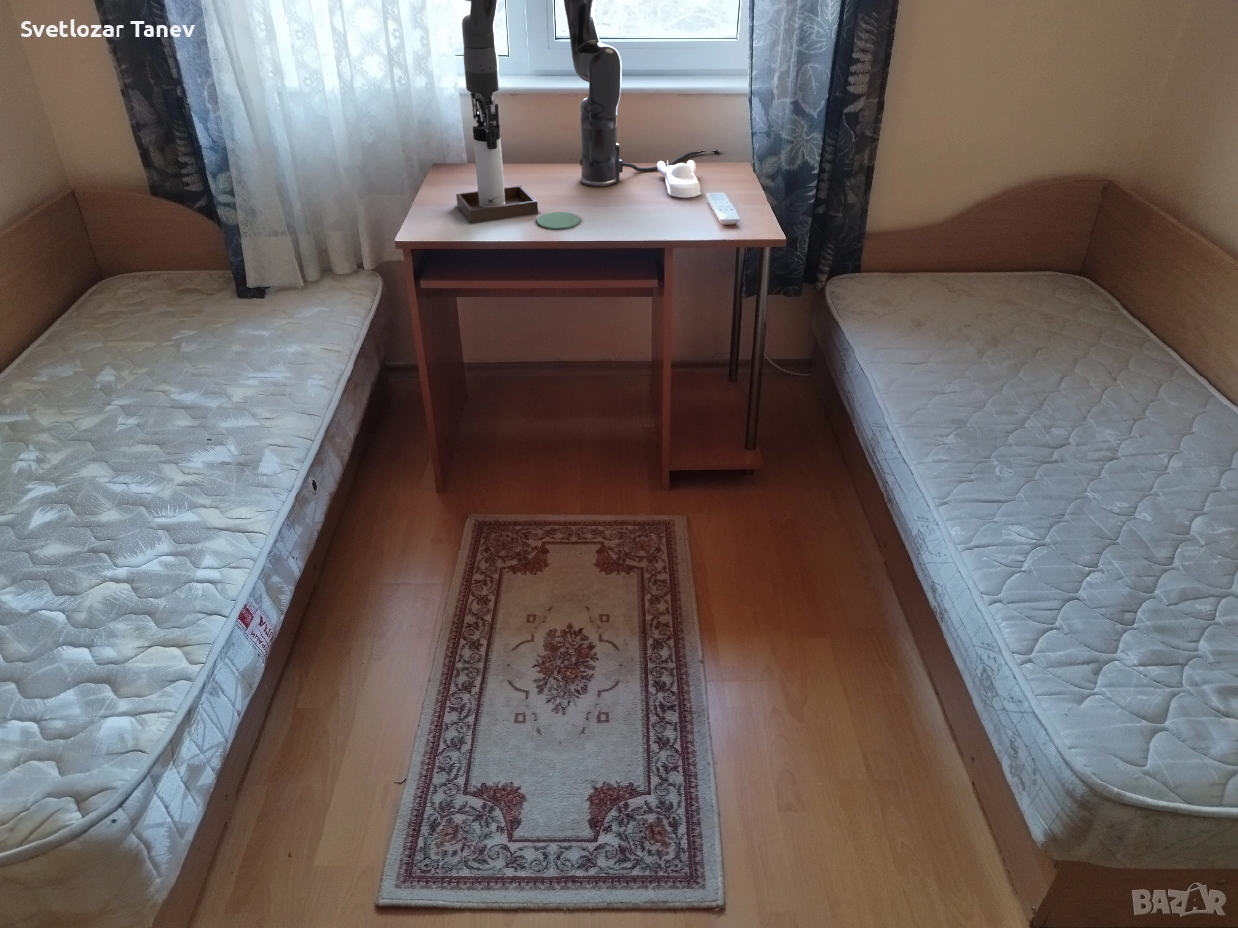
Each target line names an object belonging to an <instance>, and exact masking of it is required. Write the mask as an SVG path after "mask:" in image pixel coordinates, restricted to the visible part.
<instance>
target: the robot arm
mask: <svg viewBox="0 0 1238 928" xmlns="http://www.w3.org/2000/svg"><path fill="white" fill-rule="evenodd" d="M464 1H466V2H470V10H469V11H470V12H469V14H467V15H465V16H464V17H463V18H462V19H461V20H462V21H461V32H462V44H463V66H464V67H463V68H464V78H465V89H466V90H467V92H469V93H470V98H471V99H470V100H471V106H472V117H473V120H475V123H476V126H479V124H483V123H484V126H485V131H486V141H487V148H488V149H496V148H497V139H496V132H497V131H499V125H500V116H499V104H498V103H496V101H495V99H494V97H493V94H494V93H496V92H497V93H498V92H499V90H500V89H501V81H500V69H499V68H500V67H499V66H500V65H499V55H498V50H497V43H496V30H495V29H496V28H495V22H496V17H497V11H498V3H499V0H464ZM562 3H563V8H564V14H565V17H566V21H567V27H568V32H569V33H568V34H569V41H570V43H569V44H570V51H571V59H572V64H573V68H574V71H575V73H576V75H577V76H578V78H580V79H581V80H583V81H584V82H587V83H588V96H587V97H585V98H583V99H582V100H581V101H580V103H579V104H580V105H579V113H580V115H579V116H580V160H579V167H581V169H580V170H581V172H580V173H581V175H580V176H581V177H580V179H581V180H580V181H581V183H583V184H584V185H587V186H591V187H607V186H611V185H614V184H616V183H620V173H622V174H623V167H627V168H631V169H633V170H634V171H636V172H654V171H659V170H658V168H657V166H651V167H638V166H637V165H635V164H634V163H630V162H623V160H622V159H621V157H620V156H621V151H620V150H621V147H620V144H619V143H617V141H618V139H617V138H618V131H617V130H618V128H617V127H618V124H617V123H618V105H619V103H620V99H621V88H622V87H621V86H622V59H621V56H620V54H619V51H618V50H617V49H616V48H614V47H613V46H610V45H607V44H604V43H601V41H600V37H599V35H598V29H597V25H596V19H595V9H596V3H597V0H562ZM490 123H493V126H491V124H490ZM704 152H706V151H701V152H693V151H689V152H686V153H684V154H682V155H680V156H679V157H677V158H675V159H673V160H671V162H668V166H670V165H676V164H678V162H679V163H680V162H681V161H683V160H684V159H686V158H688V157H691V156H695V155H698V154H701V153H704ZM711 153H714V154H716V155H719V154H720V151H719V150H718V149H716V151H711ZM665 165H666V166H667V163H665Z"/></svg>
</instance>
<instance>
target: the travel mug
mask: <svg viewBox="0 0 1238 928" xmlns="http://www.w3.org/2000/svg"><path fill="white" fill-rule="evenodd" d="M490 124H491V126H493V123H492V122H490ZM500 125H501V124H499V131H497V132H496V139H497V148H496V149H488V148H487V141H486V131H485V126H484V123H483V124H479V126H477V125H475V126H472V134H473V149H474V161H475V162H474V163H475V172H476V182H477V183H476V184H477V191H478V195H479V206H480V208H487V207H494V206H501V205H505V194H504V188H505V181H504V168H503V153H502V152H503V151H502V140H501V129H500V128H501V127H500Z"/></svg>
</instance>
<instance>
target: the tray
mask: <svg viewBox="0 0 1238 928" xmlns="http://www.w3.org/2000/svg"><path fill="white" fill-rule="evenodd" d="M504 194H505V205H501V206H494V207H487V208H480V206H479V195H478V190H476V191H475V190H474V191H469V192H468V191H467V192H461V193H456V194H455V198H456V205H457V208H458V209H459V210H460V211H461V212H462V214H463V215H464V217H465V218H466V219H467V220H468V221H469V222H470V224H477V223H482V222H483V223H484V222H490V221H491V222H492V221H496V220H497V221H498V220H504V219H511V218H516V217H524V216H532V215H537V214H539V206H538V205H539V204H538V200H537V199H535V197H533V196H532V195H531V193H529V192H528V190H526V189H525V187H523V186H522V185H513V186H504Z"/></svg>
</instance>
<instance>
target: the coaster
mask: <svg viewBox="0 0 1238 928" xmlns="http://www.w3.org/2000/svg"><path fill="white" fill-rule="evenodd" d="M536 223H537V225H538V226H539V227H541V228H544V229H547V230H548V229H549V230H566V229H571V228H574V227H576V226H577V225H579V223H580V218H579V217H578V216H577V215H575V214H573V213H569V212H561V211H560V212H559V211H558V212H557V211H555V212H549V213H545V214H541V215H540V216H538V217H537V219H536Z"/></svg>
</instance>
